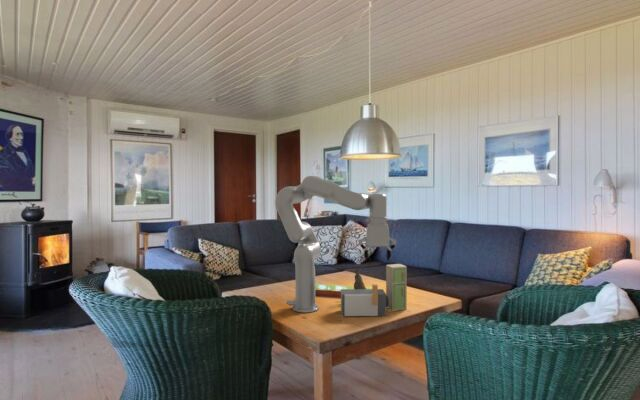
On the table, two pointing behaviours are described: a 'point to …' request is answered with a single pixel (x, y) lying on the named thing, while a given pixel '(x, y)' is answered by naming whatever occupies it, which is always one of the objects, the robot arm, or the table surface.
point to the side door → (362, 304)
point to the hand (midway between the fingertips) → (377, 259)
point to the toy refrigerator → (396, 286)
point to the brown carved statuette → (358, 281)
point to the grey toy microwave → (382, 296)
